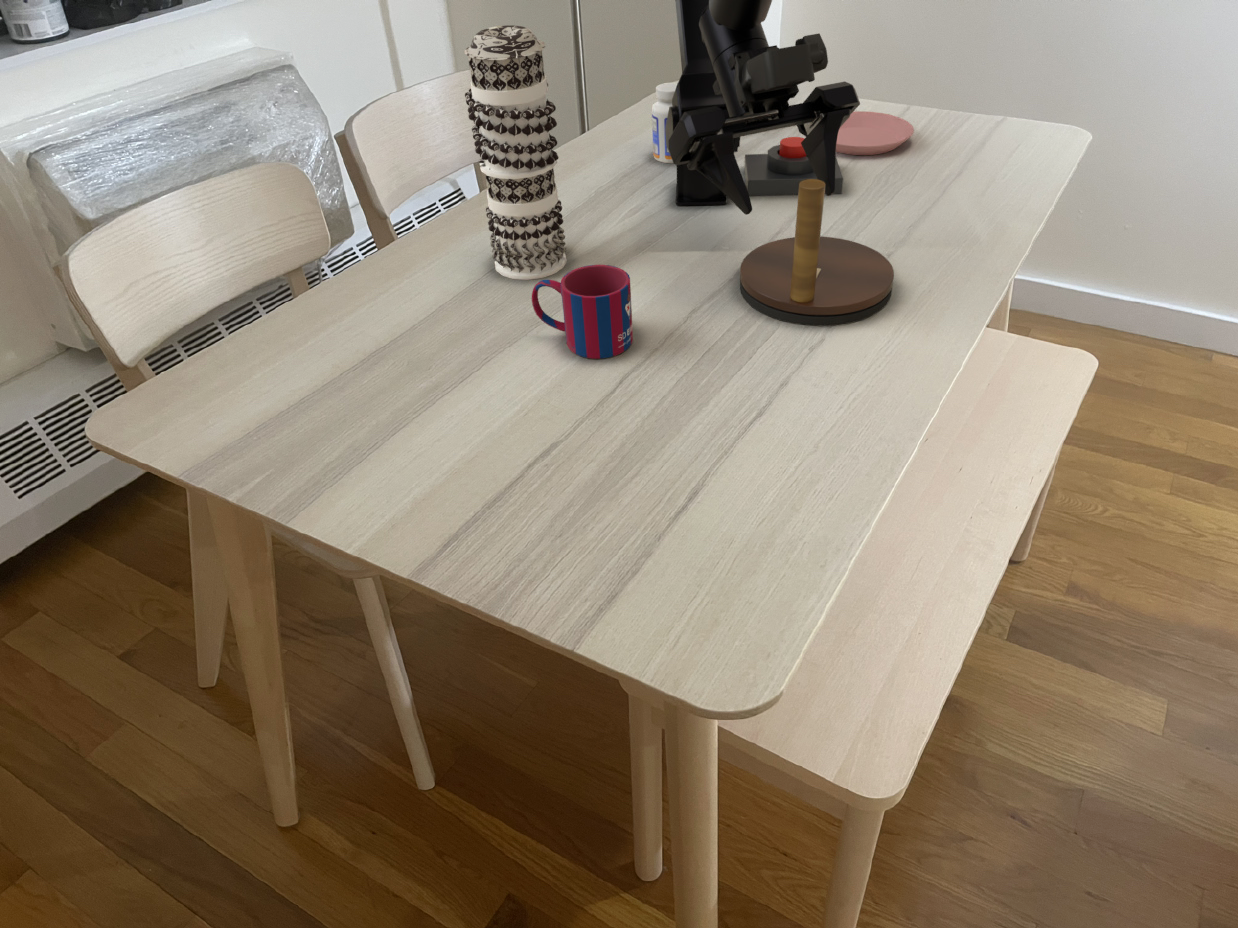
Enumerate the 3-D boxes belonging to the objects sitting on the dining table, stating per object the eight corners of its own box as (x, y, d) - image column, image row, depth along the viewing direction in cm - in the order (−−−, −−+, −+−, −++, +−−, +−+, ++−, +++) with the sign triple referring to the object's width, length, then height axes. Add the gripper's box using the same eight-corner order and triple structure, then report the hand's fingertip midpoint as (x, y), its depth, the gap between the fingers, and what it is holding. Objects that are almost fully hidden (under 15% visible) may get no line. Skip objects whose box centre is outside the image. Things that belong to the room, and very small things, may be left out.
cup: (618, 364, 86) (614, 301, 82) (526, 348, 89) (517, 287, 85) (642, 329, 91) (640, 268, 87) (554, 315, 94) (547, 256, 90)
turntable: (762, 236, 103) (769, 124, 95) (904, 254, 98) (923, 138, 90) (721, 301, 92) (724, 181, 84) (878, 326, 87) (897, 200, 79)
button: (780, 160, 115) (781, 146, 113) (778, 150, 117) (779, 136, 116) (808, 159, 114) (809, 146, 113) (805, 149, 117) (807, 136, 116)
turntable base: (743, 326, 90) (743, 318, 90) (736, 255, 103) (737, 247, 102) (903, 325, 89) (905, 316, 88) (878, 252, 101) (879, 244, 101)
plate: (790, 147, 128) (791, 133, 126) (841, 118, 136) (842, 105, 134) (881, 167, 120) (883, 153, 119) (929, 136, 128) (931, 122, 127)
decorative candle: (482, 254, 106) (446, 27, 90) (555, 239, 108) (533, 15, 92) (502, 288, 99) (467, 49, 83) (580, 270, 102) (560, 35, 86)
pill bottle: (697, 153, 128) (698, 82, 121) (679, 166, 124) (678, 94, 118) (665, 147, 130) (663, 78, 124) (646, 160, 127) (643, 89, 120)
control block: (747, 196, 115) (748, 166, 113) (744, 170, 122) (745, 140, 119) (841, 194, 114) (844, 163, 112) (832, 167, 121) (836, 138, 119)
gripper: (679, 19, 78) (735, 185, 77) (861, -10, 83) (916, 145, 82) (646, 89, 88) (694, 235, 87) (808, 59, 93) (856, 197, 92)
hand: (790, 203), depth 87 cm, fingers open, 9 cm apart
